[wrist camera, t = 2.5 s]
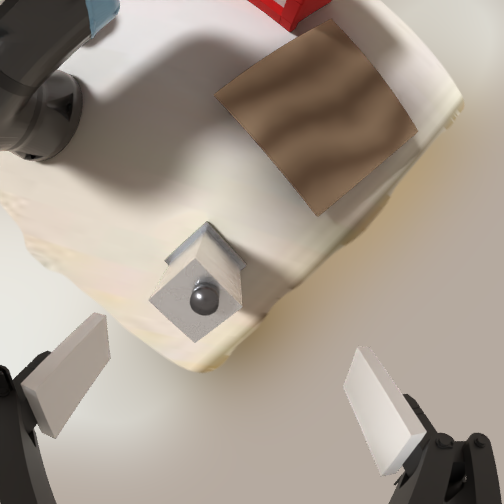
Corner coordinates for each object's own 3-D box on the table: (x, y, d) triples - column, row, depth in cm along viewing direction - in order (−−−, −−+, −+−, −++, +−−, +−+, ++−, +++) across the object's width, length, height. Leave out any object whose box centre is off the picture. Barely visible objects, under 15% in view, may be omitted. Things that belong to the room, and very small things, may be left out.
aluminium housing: (165, 258, 41) (134, 307, 26) (207, 220, 40) (192, 254, 25) (204, 297, 43) (193, 359, 29) (246, 263, 42) (253, 315, 28)
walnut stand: (215, 103, 35) (213, 94, 30) (321, 32, 32) (331, 18, 27) (307, 210, 40) (317, 216, 36) (400, 133, 37) (418, 131, 33)
